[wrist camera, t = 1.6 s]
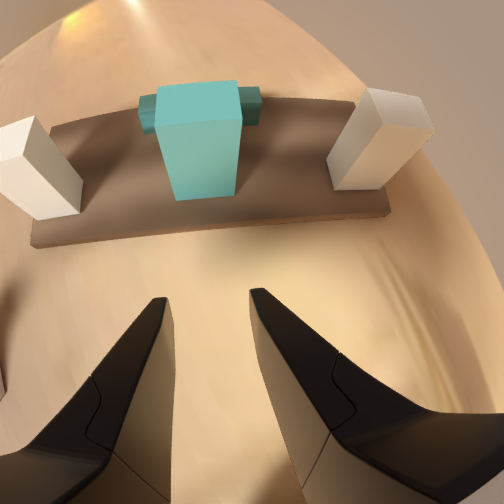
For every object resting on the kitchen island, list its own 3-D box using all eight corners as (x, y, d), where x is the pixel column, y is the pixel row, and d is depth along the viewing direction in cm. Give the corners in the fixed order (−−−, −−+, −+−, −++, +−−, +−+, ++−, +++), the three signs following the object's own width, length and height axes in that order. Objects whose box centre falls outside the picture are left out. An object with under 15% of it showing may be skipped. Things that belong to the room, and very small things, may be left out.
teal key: (234, 195, 23) (242, 118, 14) (176, 201, 22) (154, 126, 14) (230, 162, 23) (236, 80, 15) (175, 167, 23) (157, 87, 14)
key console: (384, 216, 25) (408, 197, 21) (37, 249, 21) (10, 234, 17) (349, 109, 28) (363, 83, 24) (56, 133, 25) (39, 109, 21)
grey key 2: (79, 213, 21) (22, 155, 13) (37, 220, 21) (-25, 171, 12) (83, 180, 22) (34, 115, 13) (42, 189, 21) (-13, 133, 13)
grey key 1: (379, 189, 24) (436, 131, 16) (334, 190, 24) (383, 123, 15) (369, 159, 25) (419, 97, 16) (326, 159, 24) (366, 87, 16)
